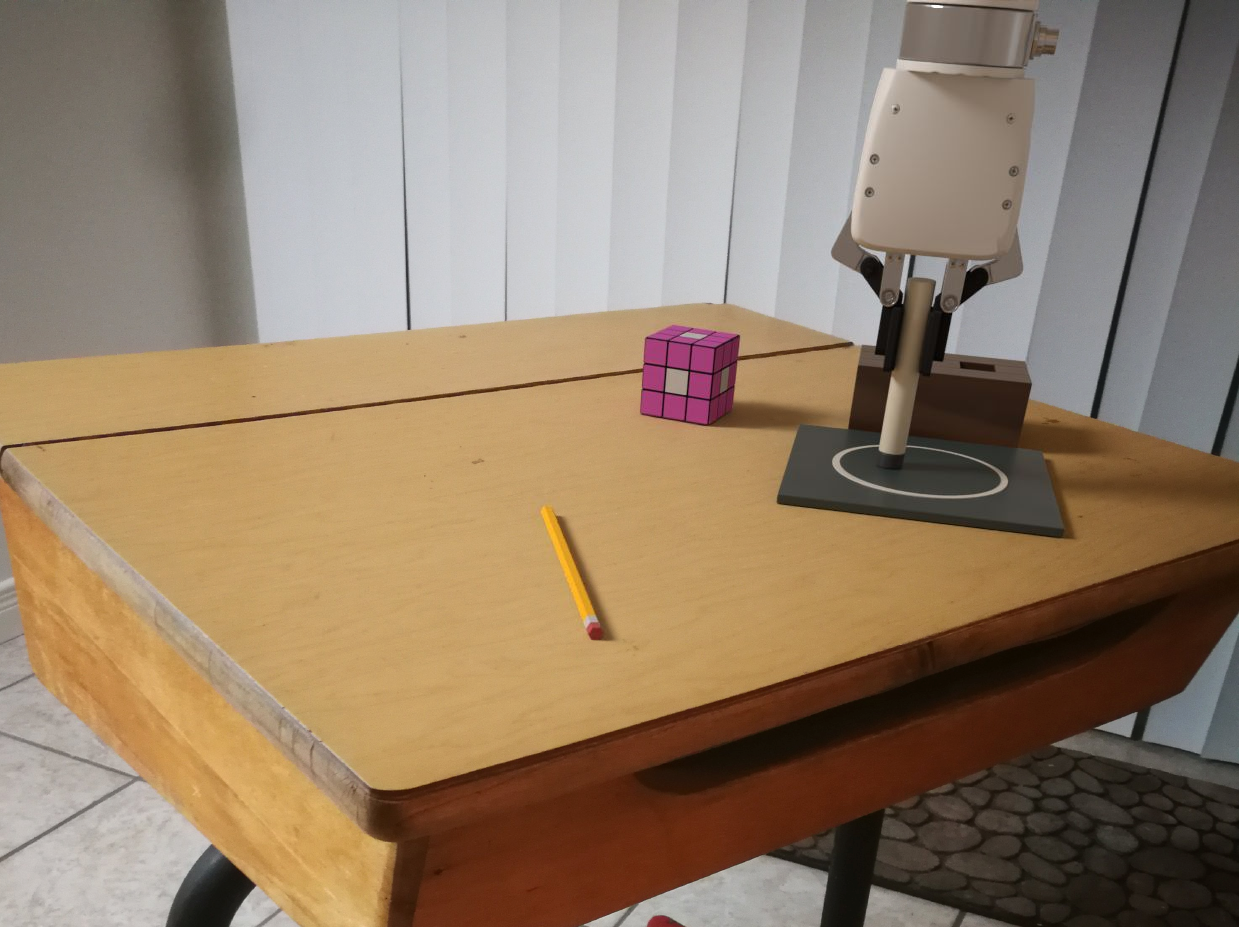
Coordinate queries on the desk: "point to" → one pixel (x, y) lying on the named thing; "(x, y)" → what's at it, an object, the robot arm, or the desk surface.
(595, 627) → the pencil
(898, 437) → the marker
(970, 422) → the holder
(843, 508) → the board
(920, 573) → the desk surface
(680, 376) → the puzzle toy
